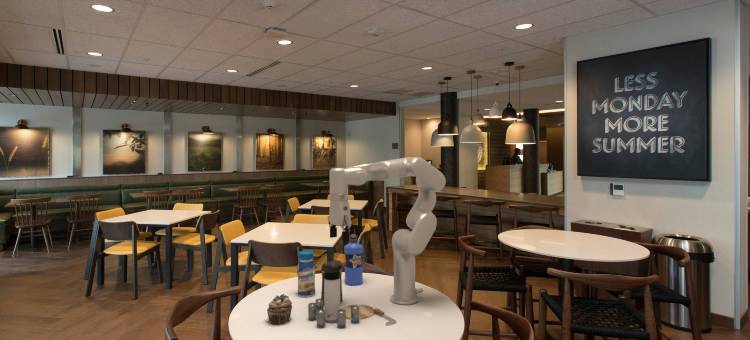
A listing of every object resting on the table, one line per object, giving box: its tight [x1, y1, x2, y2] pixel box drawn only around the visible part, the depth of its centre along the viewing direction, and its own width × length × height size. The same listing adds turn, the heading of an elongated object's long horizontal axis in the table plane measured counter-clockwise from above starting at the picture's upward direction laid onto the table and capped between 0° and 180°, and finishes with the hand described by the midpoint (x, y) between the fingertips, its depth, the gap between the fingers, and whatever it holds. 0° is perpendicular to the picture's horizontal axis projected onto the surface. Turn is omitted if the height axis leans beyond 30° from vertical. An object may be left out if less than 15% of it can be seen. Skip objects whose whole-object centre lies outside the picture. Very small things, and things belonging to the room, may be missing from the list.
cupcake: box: [266, 293, 293, 326], centre depth 156 cm, size 10×10×10 cm
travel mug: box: [323, 270, 341, 324], centre depth 156 cm, size 6×7×20 cm
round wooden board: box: [340, 304, 375, 320], centre depth 165 cm, size 15×15×1 cm
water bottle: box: [343, 233, 364, 287], centre depth 203 cm, size 9×9×25 cm
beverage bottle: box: [296, 250, 316, 298], centre depth 186 cm, size 8×8×20 cm
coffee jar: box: [320, 259, 343, 306], centre depth 175 cm, size 10×8×19 cm
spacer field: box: [307, 298, 360, 330], centre depth 157 cm, size 16×19×6 cm
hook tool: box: [373, 308, 397, 326], centre depth 158 cm, size 13×5×2 cm, turn 36°
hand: (339, 239), depth 165 cm, fingers open, 9 cm apart
